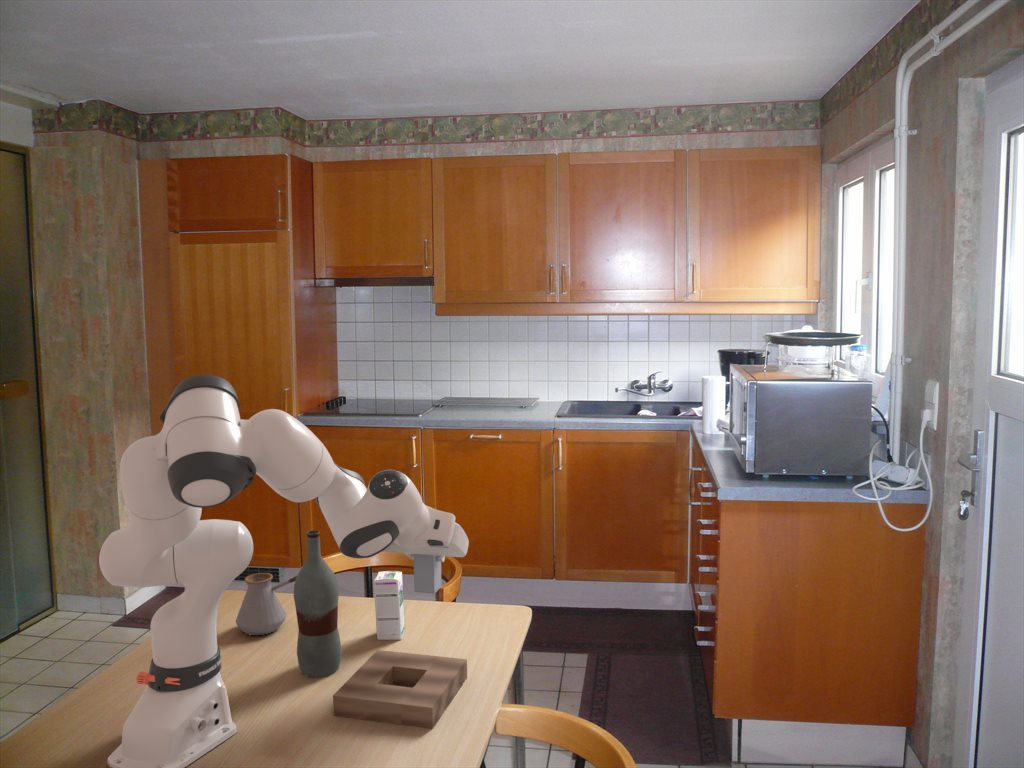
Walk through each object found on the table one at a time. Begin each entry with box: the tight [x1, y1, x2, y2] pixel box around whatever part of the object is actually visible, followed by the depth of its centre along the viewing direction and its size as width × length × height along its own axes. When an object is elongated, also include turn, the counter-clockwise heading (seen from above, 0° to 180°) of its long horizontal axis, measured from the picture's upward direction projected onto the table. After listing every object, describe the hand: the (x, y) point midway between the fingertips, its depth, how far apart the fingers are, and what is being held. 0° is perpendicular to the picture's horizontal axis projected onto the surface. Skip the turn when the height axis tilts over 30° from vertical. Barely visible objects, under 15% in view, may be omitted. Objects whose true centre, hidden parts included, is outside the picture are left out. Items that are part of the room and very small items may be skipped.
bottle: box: [293, 529, 343, 678], centre depth 174 cm, size 9×9×30 cm
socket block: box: [332, 649, 468, 729], centre depth 163 cm, size 20×20×4 cm
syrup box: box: [373, 570, 406, 641], centre depth 191 cm, size 6×6×14 cm
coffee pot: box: [235, 572, 297, 636], centre depth 196 cm, size 21×12×15 cm, turn 95°
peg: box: [413, 554, 443, 595], centre depth 175 cm, size 4×4×10 cm
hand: (428, 557), depth 175 cm, fingers closed on peg, 4 cm apart
